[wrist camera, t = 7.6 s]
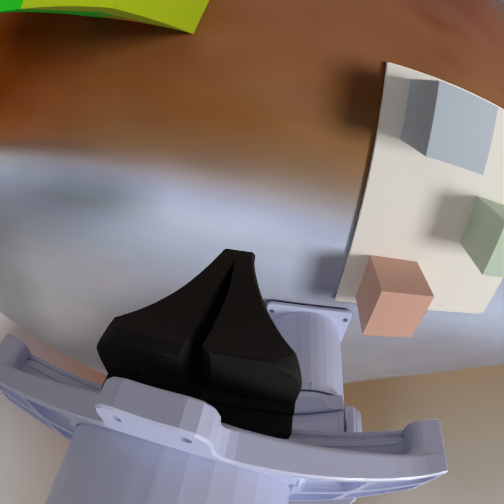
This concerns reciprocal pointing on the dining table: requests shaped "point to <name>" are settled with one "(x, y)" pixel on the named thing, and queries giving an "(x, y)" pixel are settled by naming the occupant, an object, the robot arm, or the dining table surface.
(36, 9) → the puzzle toy
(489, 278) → the mat
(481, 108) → the slate block
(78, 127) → the dining table surface
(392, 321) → the terracotta block
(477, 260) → the sage block
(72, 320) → the dining table surface
